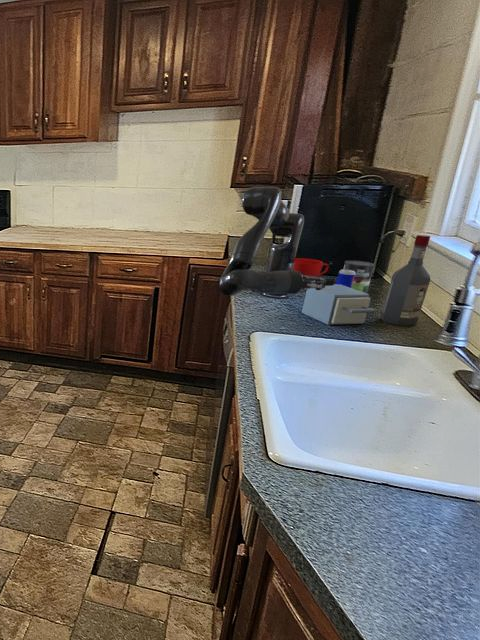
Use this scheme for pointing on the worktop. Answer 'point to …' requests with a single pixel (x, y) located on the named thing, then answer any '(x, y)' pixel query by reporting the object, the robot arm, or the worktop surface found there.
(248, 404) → the worktop surface
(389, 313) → the liquor
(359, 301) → the drawer
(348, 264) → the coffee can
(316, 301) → the cabinet
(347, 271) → the beverage can
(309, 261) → the ceramic cup
